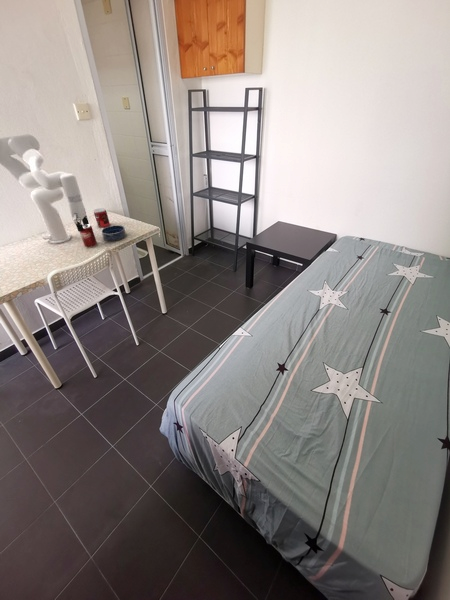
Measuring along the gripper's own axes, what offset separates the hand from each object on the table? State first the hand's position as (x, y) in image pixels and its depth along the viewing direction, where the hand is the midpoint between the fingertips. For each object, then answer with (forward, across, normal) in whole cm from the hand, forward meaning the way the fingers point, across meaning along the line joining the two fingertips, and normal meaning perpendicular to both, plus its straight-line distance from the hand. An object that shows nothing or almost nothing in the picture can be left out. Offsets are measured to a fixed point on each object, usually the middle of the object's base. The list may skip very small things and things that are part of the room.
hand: (83, 227), depth 166 cm
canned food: (+12, -30, +2) cm, 33 cm away
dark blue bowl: (+11, -9, +14) cm, 20 cm away
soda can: (+11, +1, +1) cm, 11 cm away
